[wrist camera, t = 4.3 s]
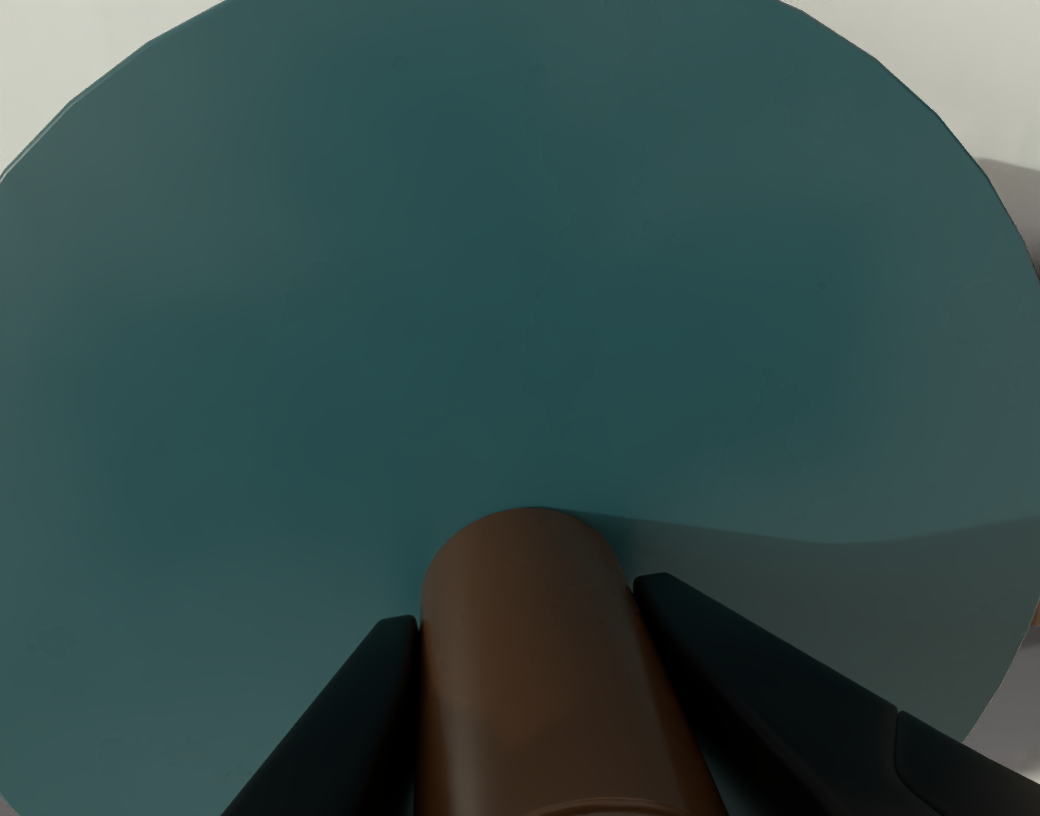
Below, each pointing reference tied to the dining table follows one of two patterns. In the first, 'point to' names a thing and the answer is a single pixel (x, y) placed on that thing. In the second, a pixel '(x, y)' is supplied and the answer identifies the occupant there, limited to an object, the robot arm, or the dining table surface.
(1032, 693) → the dining table surface
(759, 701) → the robot arm
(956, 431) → the lid
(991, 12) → the dining table surface
